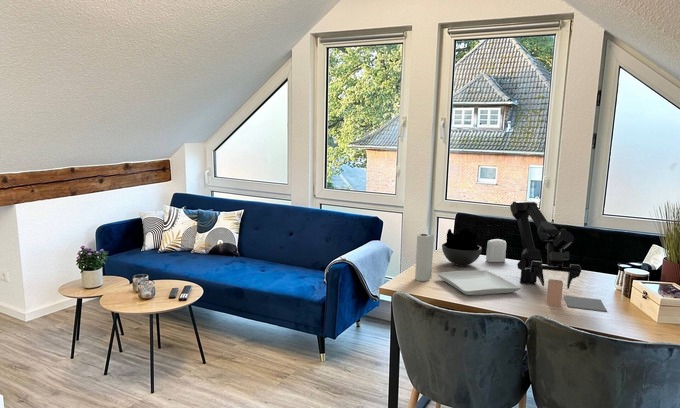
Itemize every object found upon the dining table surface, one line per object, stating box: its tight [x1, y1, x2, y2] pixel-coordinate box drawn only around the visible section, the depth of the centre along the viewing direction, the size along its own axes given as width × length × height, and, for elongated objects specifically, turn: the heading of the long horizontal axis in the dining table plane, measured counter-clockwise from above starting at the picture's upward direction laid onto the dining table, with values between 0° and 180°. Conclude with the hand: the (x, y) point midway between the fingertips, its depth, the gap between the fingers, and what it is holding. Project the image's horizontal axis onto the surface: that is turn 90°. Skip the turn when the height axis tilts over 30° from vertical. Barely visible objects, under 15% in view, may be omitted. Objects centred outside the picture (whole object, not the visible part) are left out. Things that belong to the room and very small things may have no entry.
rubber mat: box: [563, 294, 608, 313], centre depth 197 cm, size 14×14×1 cm
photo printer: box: [485, 238, 507, 263], centre depth 259 cm, size 10×4×12 cm, turn 98°
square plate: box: [435, 269, 522, 296], centre depth 216 cm, size 27×27×4 cm
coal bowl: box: [441, 228, 483, 267], centre depth 250 cm, size 20×20×19 cm
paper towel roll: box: [414, 233, 435, 282], centre depth 222 cm, size 7×6×21 cm
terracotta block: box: [546, 278, 564, 307], centre depth 195 cm, size 5×4×10 cm
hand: (555, 287), depth 194 cm, fingers open, 9 cm apart
